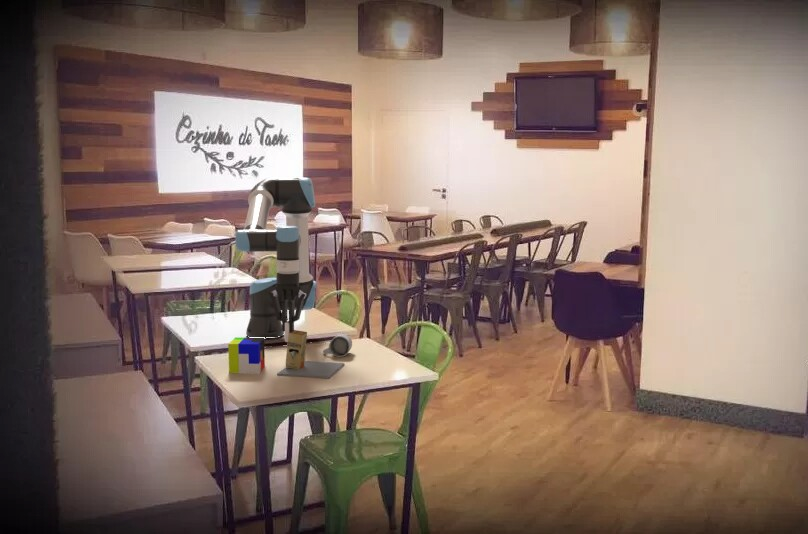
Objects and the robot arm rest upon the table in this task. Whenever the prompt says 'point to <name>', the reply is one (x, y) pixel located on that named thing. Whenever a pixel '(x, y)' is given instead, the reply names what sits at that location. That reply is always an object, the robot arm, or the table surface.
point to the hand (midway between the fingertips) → (288, 340)
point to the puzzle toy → (246, 355)
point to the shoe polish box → (296, 349)
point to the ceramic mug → (339, 345)
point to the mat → (313, 370)
